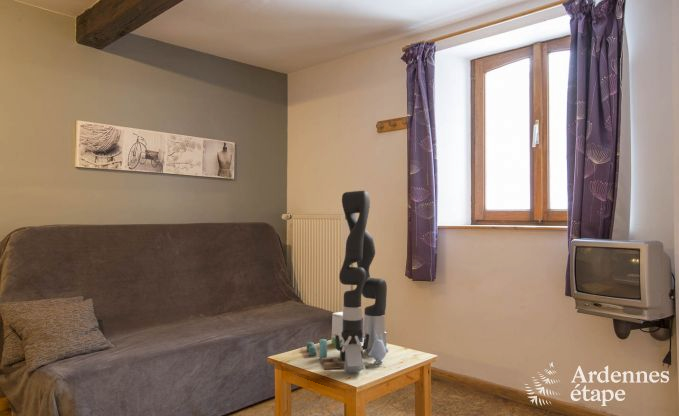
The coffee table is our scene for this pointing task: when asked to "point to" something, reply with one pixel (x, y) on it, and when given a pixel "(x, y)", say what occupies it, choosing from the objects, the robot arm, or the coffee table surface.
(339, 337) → the robot arm
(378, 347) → the toy figure
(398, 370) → the coffee table surface
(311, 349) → the board
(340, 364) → the board
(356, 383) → the coffee table surface
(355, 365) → the white rectangular block
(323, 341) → the pin
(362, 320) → the walkman
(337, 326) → the skincare box
